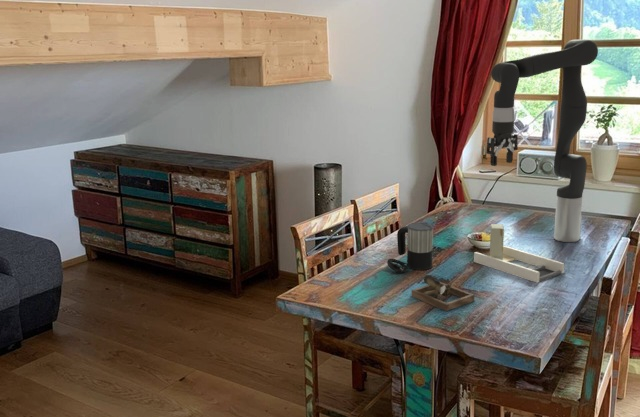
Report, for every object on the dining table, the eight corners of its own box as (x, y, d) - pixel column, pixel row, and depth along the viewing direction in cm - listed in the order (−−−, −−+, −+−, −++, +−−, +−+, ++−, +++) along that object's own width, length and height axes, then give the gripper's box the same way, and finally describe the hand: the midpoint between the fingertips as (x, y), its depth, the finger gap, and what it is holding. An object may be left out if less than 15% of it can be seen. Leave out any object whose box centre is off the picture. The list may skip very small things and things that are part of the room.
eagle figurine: (451, 289, 214) (423, 281, 217) (453, 276, 209) (424, 268, 211) (445, 309, 210) (416, 300, 212) (446, 296, 204) (417, 288, 207)
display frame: (438, 287, 219) (439, 281, 219) (474, 301, 207) (474, 294, 207) (411, 296, 213) (411, 290, 212) (446, 311, 201) (446, 304, 200)
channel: (499, 253, 250) (500, 244, 249) (563, 273, 228) (564, 263, 227) (473, 261, 242) (474, 252, 241) (537, 282, 220) (537, 272, 220)
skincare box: (503, 262, 239) (504, 228, 236) (490, 261, 240) (491, 228, 237) (501, 256, 245) (503, 223, 242) (489, 255, 246) (490, 223, 243)
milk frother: (436, 263, 241) (437, 223, 238) (423, 278, 228) (423, 235, 224) (398, 258, 247) (398, 219, 244) (383, 272, 234) (383, 231, 230)
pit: (543, 268, 233) (543, 265, 233) (560, 274, 227) (561, 270, 227) (522, 275, 227) (522, 272, 226) (540, 281, 221) (540, 278, 221)
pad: (497, 254, 249) (497, 253, 249) (514, 259, 242) (514, 258, 242) (476, 260, 243) (476, 259, 243) (494, 266, 236) (494, 265, 236)
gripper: (498, 122, 237) (496, 168, 241) (524, 118, 245) (522, 162, 249) (481, 120, 243) (480, 165, 247) (508, 116, 251) (506, 160, 255)
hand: (501, 164), depth 248 cm, fingers open, 8 cm apart
